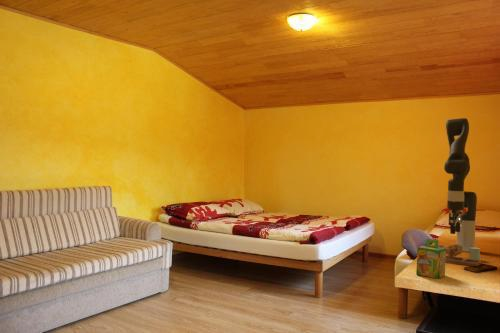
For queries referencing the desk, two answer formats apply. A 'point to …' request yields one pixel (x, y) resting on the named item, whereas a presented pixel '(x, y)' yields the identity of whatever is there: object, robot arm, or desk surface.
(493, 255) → the desk surface
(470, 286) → the desk surface
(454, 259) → the board
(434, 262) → the chalk box
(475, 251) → the block
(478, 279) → the desk surface
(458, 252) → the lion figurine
